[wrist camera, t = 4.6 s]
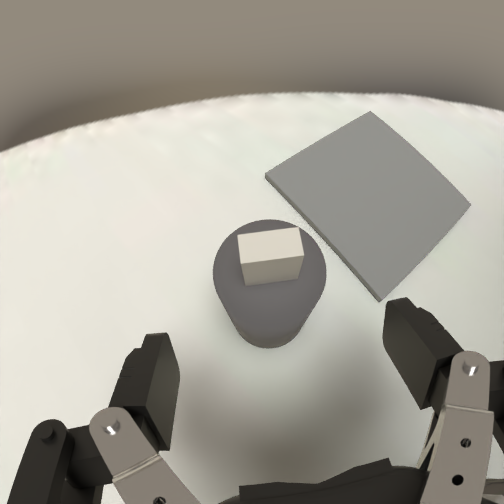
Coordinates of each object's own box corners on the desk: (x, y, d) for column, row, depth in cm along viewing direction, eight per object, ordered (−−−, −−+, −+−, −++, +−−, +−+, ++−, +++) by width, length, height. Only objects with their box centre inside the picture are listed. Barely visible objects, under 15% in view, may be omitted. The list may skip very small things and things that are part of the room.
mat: (368, 115, 26) (370, 110, 26) (467, 208, 22) (471, 204, 22) (265, 177, 24) (265, 173, 23) (379, 302, 20) (381, 299, 19)
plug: (297, 275, 21) (322, 180, 11) (309, 342, 19) (352, 301, 10) (229, 284, 21) (198, 195, 11) (237, 352, 19) (207, 322, 9)
